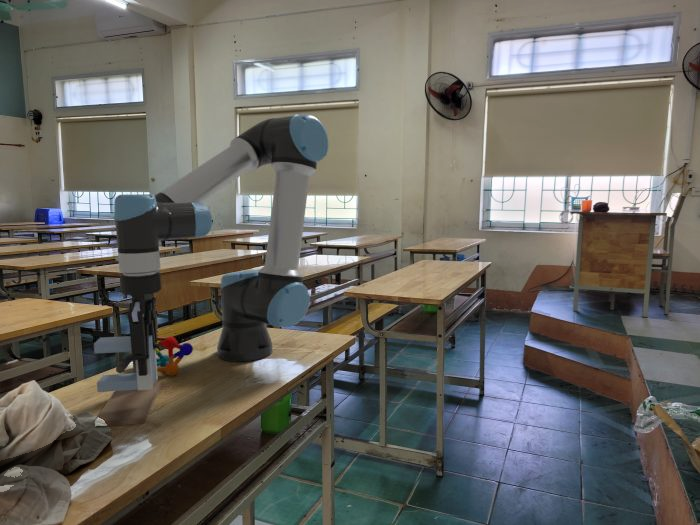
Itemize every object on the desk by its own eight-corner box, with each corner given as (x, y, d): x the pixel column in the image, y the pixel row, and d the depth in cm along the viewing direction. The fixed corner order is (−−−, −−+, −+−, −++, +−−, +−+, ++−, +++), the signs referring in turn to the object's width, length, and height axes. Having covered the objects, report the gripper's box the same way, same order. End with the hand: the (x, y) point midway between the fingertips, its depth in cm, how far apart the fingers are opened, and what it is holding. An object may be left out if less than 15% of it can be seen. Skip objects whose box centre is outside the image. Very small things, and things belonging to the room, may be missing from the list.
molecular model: (162, 375, 131) (201, 346, 127) (145, 398, 122) (187, 367, 118) (132, 346, 129) (171, 315, 125) (112, 367, 119) (153, 334, 115)
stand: (162, 385, 115) (158, 331, 113) (143, 423, 96) (139, 359, 94) (121, 388, 113) (117, 333, 111) (94, 427, 95) (89, 362, 93)
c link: (154, 381, 103) (152, 335, 101) (150, 388, 99) (147, 341, 98) (103, 384, 101) (100, 337, 100) (97, 392, 97) (93, 343, 96)
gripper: (131, 266, 105) (138, 370, 109) (106, 281, 88) (116, 403, 92) (167, 265, 106) (174, 368, 110) (150, 279, 90) (158, 400, 93)
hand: (148, 384), depth 101 cm, fingers closed on c link, 4 cm apart
